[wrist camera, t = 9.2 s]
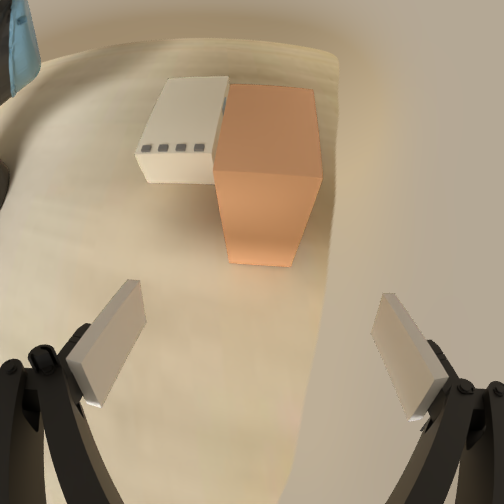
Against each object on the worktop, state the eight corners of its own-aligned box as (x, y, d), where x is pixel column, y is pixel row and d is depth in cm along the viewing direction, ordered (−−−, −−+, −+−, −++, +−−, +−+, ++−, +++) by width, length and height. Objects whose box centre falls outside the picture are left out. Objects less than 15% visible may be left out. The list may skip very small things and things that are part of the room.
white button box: (147, 183, 27) (132, 152, 23) (173, 106, 32) (166, 76, 27) (217, 184, 27) (212, 151, 23) (231, 105, 32) (229, 73, 27)
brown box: (228, 263, 24) (211, 170, 13) (236, 191, 27) (229, 83, 15) (291, 267, 24) (324, 178, 13) (291, 195, 26) (314, 89, 15)
